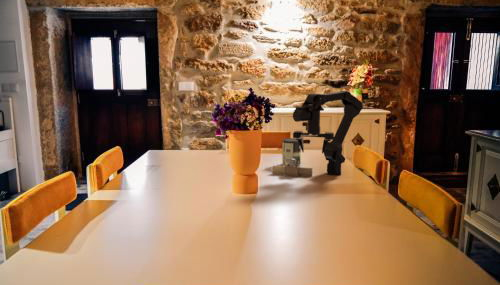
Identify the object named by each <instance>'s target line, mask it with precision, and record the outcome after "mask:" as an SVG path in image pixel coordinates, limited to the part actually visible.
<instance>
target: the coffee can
mask: <svg viewBox="0 0 500 285" xmlns="http://www.w3.org/2000/svg"><path fill="white" fill-rule="evenodd" d="M281 141H282V148H281V149H282V153H281V154H282V158H281V159H282V162H281V163H282V164H281V166H285V165H286V164H287V163H289V159H292V158H293V159H296V160H295V164H300V166H301V162H302V161H301V160H302V159H301V158H302V157H301V155H302V154H301V153H302V149H301V146H300V144H299V142H298V140H296V138H293V137H292V138H291V137H290V138H283V139H281Z"/></svg>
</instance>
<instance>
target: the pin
mask: <svg viewBox="0 0 500 285" xmlns="http://www.w3.org/2000/svg"><path fill="white" fill-rule="evenodd" d="M295 160H296V159H293V158H292V159H289V166H295Z"/></svg>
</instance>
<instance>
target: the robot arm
mask: <svg viewBox="0 0 500 285" xmlns="http://www.w3.org/2000/svg"><path fill="white" fill-rule="evenodd" d="M337 101H340V102H341V104H342V105H343V106H344V107H343V116H342V119H341V121H340V123H339V125H338V127H337V128H336V129H337V130H336V132H335V134H334V132H333V131H325V132H324V133H321V112H324V111H325V109H324V107H322V106H323V105H325V104H327V103H330V102H331V103H332V102H337ZM363 107H364V106H363V101H361V100H360V99H359V98H358V97H356V96H355V95H353V94H352V93H351V92H350V91H349V90H340V91H335V92H329V93H308V94H307V96H306V98H305V99H304V101H303V103H302V105H301V106H295V109H294V110H293V113H292V118H293V121H295V122H298V123H299V122H307V123H306V124H305V130H306V132H304V131H303V130H294V131H293V132H292V138H296V140H298V142H299V144H300V146H301V153H305V148H304V146H305V144H304V137H305V138H309V137H310V138H324V139H323V141H322V142H323V144H322V149H321V154H323V155H324V158H325V161H328V162H327V164H326V173H327V175H334V176H341V175H342V164H344V163H345V161H346V158H345V156H344V155H343V150H344V149H343V143H344V140H345V138H346V137H347V135H348V132H349V130H350V128H351V125H352V122H353V120H354V119H355V118H356V117H357V116H358V115H359V114H360V113H361V112H362V110H363Z"/></svg>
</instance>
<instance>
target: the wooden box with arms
mask: <svg viewBox="0 0 500 285" xmlns="http://www.w3.org/2000/svg"><path fill="white" fill-rule="evenodd" d="M272 174H273V175H284V177H290V178H291V177H292V178H298V177H299V176H300V177H310V178H311V177H313V167H303V166H302V167H301V165H300V164H295V166H289V163H287V164H286V165H285V166H283V165H274V164H273V165H272Z"/></svg>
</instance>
